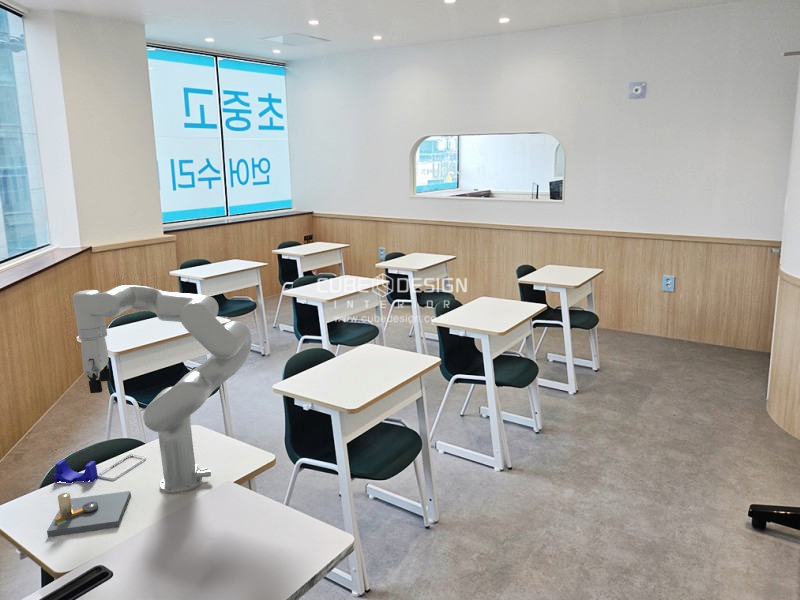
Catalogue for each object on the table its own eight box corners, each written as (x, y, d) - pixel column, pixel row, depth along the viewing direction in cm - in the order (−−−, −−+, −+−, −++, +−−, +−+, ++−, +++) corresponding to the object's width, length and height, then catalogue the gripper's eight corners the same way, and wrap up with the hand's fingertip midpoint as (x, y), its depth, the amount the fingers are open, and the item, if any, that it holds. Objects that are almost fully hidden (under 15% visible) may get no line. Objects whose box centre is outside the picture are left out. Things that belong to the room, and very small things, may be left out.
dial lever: (96, 503, 174) (92, 482, 173) (100, 509, 171) (96, 487, 170) (54, 519, 167) (49, 496, 166) (57, 525, 164) (53, 502, 163)
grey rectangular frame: (113, 482, 191) (147, 460, 205) (113, 478, 191) (147, 456, 205) (96, 478, 194) (130, 457, 208) (95, 474, 194) (130, 453, 207)
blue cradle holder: (54, 483, 191) (51, 466, 190) (64, 476, 195) (61, 459, 194) (89, 485, 189) (86, 468, 188) (98, 478, 193) (95, 461, 192)
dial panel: (131, 496, 182) (130, 490, 181) (118, 527, 166) (117, 520, 166) (66, 505, 178) (65, 498, 177) (48, 537, 163) (46, 530, 162)
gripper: (87, 325, 184) (95, 378, 188) (69, 341, 167) (78, 398, 171) (113, 323, 185) (120, 375, 189) (98, 339, 169) (107, 395, 173)
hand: (100, 386), depth 180 cm, fingers open, 9 cm apart
